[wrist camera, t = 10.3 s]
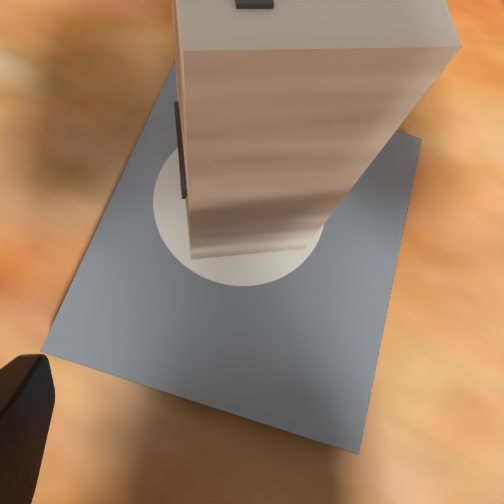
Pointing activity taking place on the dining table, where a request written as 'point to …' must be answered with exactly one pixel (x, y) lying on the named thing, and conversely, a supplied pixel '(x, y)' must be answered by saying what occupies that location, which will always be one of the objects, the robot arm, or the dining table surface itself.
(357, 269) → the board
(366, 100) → the letter block
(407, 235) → the dining table surface
